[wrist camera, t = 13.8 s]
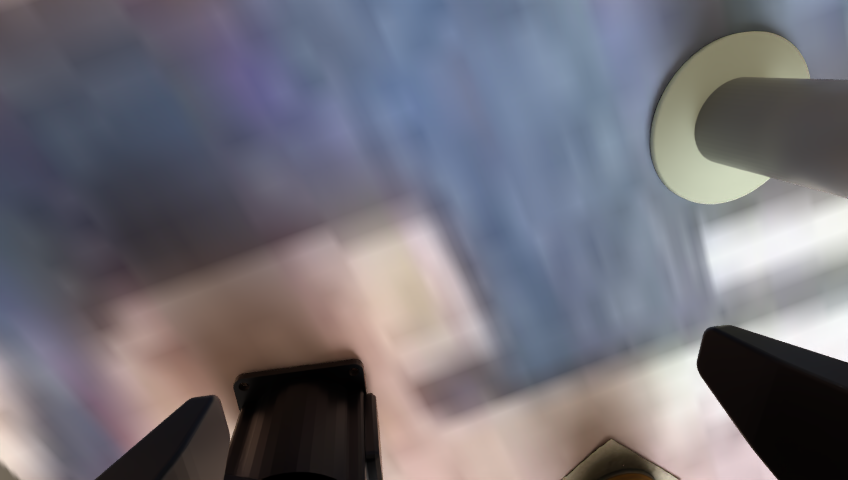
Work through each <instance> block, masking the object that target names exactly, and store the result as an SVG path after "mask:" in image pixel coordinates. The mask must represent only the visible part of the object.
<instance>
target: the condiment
mask: <svg viewBox="0 0 848 480" xmlns="http://www.w3.org/2000/svg"><path fill="white" fill-rule="evenodd" d="M623 465H624V466H623ZM562 480H678V479H677V478H675V477H674V476H672V475H671V474H669V473H667V472H665V471H664V470H663V469H661V468H660V467H658V466H656V465H654V464H653V463H651V462H649V461H648V460H645V459H643V458H642V457H640V456H639V455H637V454H636V453H634V452H633V451H631V450H630V449H628V448H626V447H624V446H622V445H620V444H619V443H617V442H616V441H614V440H612V439H610V440H609V441H608V442H607V443H605V444H604V445H603V446H602V447H599V448H598V449H597V450H596V451H595V452H594V453H592V454H591V455H590V456H589V457H588V458H587V459H586V460H585V461H583V462H582V463H580V464H579V465H578V466H577V467H576V468H575V469H574V470H573V471H572V472H571V473H570V474H569V475H568V476H566V477H564V478H563V479H562Z"/></svg>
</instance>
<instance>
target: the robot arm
mask: <svg viewBox="0 0 848 480" xmlns="http://www.w3.org/2000/svg"><path fill="white" fill-rule="evenodd" d="M352 368H357V369H358V370H356V371H351V370H350V369H352ZM697 368H698V371H699V374H700V376H701V377H702V379H703V380H704V381H705V383H706V384H707V386H708V387H709V388H710V390H711V391H712V393H713V394H714V396H715V397H716V398H717V400H718V401H719V403H720V404H721V406H722V407H723V408H724V410H725V411H726V413H727V414H728V416H729V417H730V418H731V420H732V421H733V423H734V424H735V425H736V427H737V428H738V430H739V431H740V433H741V434H742V435H743V437H744V438H745V440H746V441H747V442H748V444H749V445H750V446H751V448H752V449H753V450H754V451H755V453H756V454H757V455H758V456H759V458H760V459H761V460H762V461H763V463H764V464H765V465H766V466H767V467H768V469H769V470H770V471H771V472H772V473H773V475H774V476H775V477H776V478H777V479H778V480H848V363H847V362H844V361H841V360H838V359H835V358H832V357H829V356H826V355H822V354H819V353H816V352H813V351H810V350H807V349H804V348H801V347H797V346H794V345H791V344H788V343H785V342H782V341H779V340H776V339H773V338H769V337H766V336H763V335H760V334H757V333H754V332H751V331H748V330H744V329H741V328H738V327H735V326H732V325H722V326H714V327H710V328H708V329H706V331H705V332H704V334H703V338H702V342H701V346H700V350H699V354H698V359H697ZM241 383H247V384H248V385H247V386H245V385H242V384H241ZM234 392H235V395H236V399H237V403H238V406H239V410H240V414H239V417H238V420H237V423H236V426H235V429H234V432H233V435H232V438H231V441H230V434H229V429H228V425H227V422H226V418H225V415H224V411H223V408H222V405H221V401H220V399H219V398H218V397H217V396H215V395H208V396H201V397H194V398H191V399H189V400H188V401H186V402H185V403H184V404H183V405H182V406H180V407H179V408H178V409H177V410H176V411H175V412H173V413H172V414H171V415H170V416H169V417H168V418H166V419H165V420H164V421H163V422H162V423H161V424H159V425H158V426H157V427H156V428H155V429H154V430H152V431H151V432H150V433H149V434H148V435H146V436H145V437H144V438H143V439H142V440H141V441H139V442H138V443H137V444H136V445H135V446H134V447H132V448H131V449H130V450H129V451H128V452H127V453H125V454H124V455H123V456H122V457H121V458H120V459H118V460H117V461H116V462H115V463H114V464H113V465H111V466H110V467H109V468H108V469H107V470H105V471H104V472H103V473H102V474H101V475H100V476H98V477H97V478H96V479H95V480H383V472H382V458H381V444H380V430H379V421H378V412H377V403H376V396H375V395H373V394H372V393H368V394H367V390H366V382H365V374H364V366H363V363H362V362H361V361H360V360H357V359H351V360H344V361H336V362H328V363H321V364H313V365H306V366H298V367H291V368H283V369H276V370H268V371H260V372H253V373H245V374H241V375H239V376H238V377H237V378H236V380H235V383H234Z"/></svg>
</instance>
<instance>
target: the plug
mask: <svg viewBox="0 0 848 480" xmlns="http://www.w3.org/2000/svg"><path fill="white" fill-rule="evenodd" d="M695 142H696V145H697V148H698V150H699V152H700V153H701V154H702V155H703V157H705V158H706V159H707V160H709V161H712V162H715V163H718V164H722V165H726V166H729V167H733V168H737V169H740V170H744V171H748V172H752V173H755V174H759V175H763V176H766V177H770V178H774V179H777V180H781V181H785V182H788V183H792V184H796V185H800V186H803V187H807V188H811V189H814V190H818V191H822V192H825V193H829V194H833V195H837V196H840V197H844V198H848V80H834V79H800V78H765V77H739V78H735V79H732V80H730V81H728V82H726V83H724V84H722V85H721V86H720V87H718V88H717V89H716V90H715V91H714V92H713V93H712V94H711V95H710V96H709V97H708V98H707V100H706V101H705V103H704V104H703V106H702V108H701V110H700V112H699V114H698V117H697V120H696V124H695Z"/></svg>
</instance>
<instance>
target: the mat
mask: <svg viewBox="0 0 848 480" xmlns="http://www.w3.org/2000/svg"><path fill="white" fill-rule="evenodd" d="M739 77H765V78H800V79H810V75H809V71H808V68H807V65H806V63H805V60H804V58H803V56H802V55H801V54H800V52H799V51H798V49H797V48H796V47H795V46H794V45H793V44H792V43H791V42H789V41H788V40H786V39H785V38H783V37H781V36H778V35H776V34H773V33H769V32H761V31H751V32H742V33H735V34H732V35H728V36H725V37H722V38H720V39H718V40H715V41H713V42H712V43H710V44H708V45H706V46H705V47H703V48H702V49H701V50H699V51H698V52H697V53H695V54H694V55H693V56H692V57H691V58H690V59H688V60H687V61H686V62H685V63H684V64H683V65H682V67H681V68H680V69H679V70H678V71H677V72H676V74H675V75H674V76H673V78H672V79H671V81H670V82H669V84H668V85H667V87H666V89H665V91H664V92H663V94H662V96H661V99H660V101H659V103H658V105H657V108H656V111H655V114H654V118H653V122H652V127H651V137H650V148H651V156H652V161H653V164H654V167H655V170H656V172H657V174H658V176H659V178H660V179H661V181H662V182H663V183H664V185H665V186H666V187H667V188H668V189H669V190H670V191H672V192H673V193H675V194H676V195H678V196H680V197H682V198H684V199H687V200H689V201H692V202H696V203H701V204H719V203H725V202H728V201H732V200H735V199H738V198H740V197H742V196H745V195H746V194H748V193H750V192H752V191H754V190H755V189H756V188H758V187H759V186H761V185H762V184H763V183H765V182H766V181H767V180H768V179H769V178H770V177H766V176H763V175H759V174H755V173H752V172H748V171H744V170H740V169H737V168H733V167H729V166H726V165H722V164H718V163H715V162H712V161H709V160H707V159H706V158H705V157H703V155H702V154H701V153H700V152H699V150H698V148H697V145H696V142H695V124H696V120H697V117H698V114H699V112H700V110H701V108H702V106H703V104H704V103H705V101H706V100H707V98H708V97H709V96H710V95H711V94H712V93H713V92H714V91H715V90H716V89H717V88H718V87H720V86H721V85H722V84H724V83H726V82H728V81H730V80H732V79H735V78H739Z"/></svg>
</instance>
